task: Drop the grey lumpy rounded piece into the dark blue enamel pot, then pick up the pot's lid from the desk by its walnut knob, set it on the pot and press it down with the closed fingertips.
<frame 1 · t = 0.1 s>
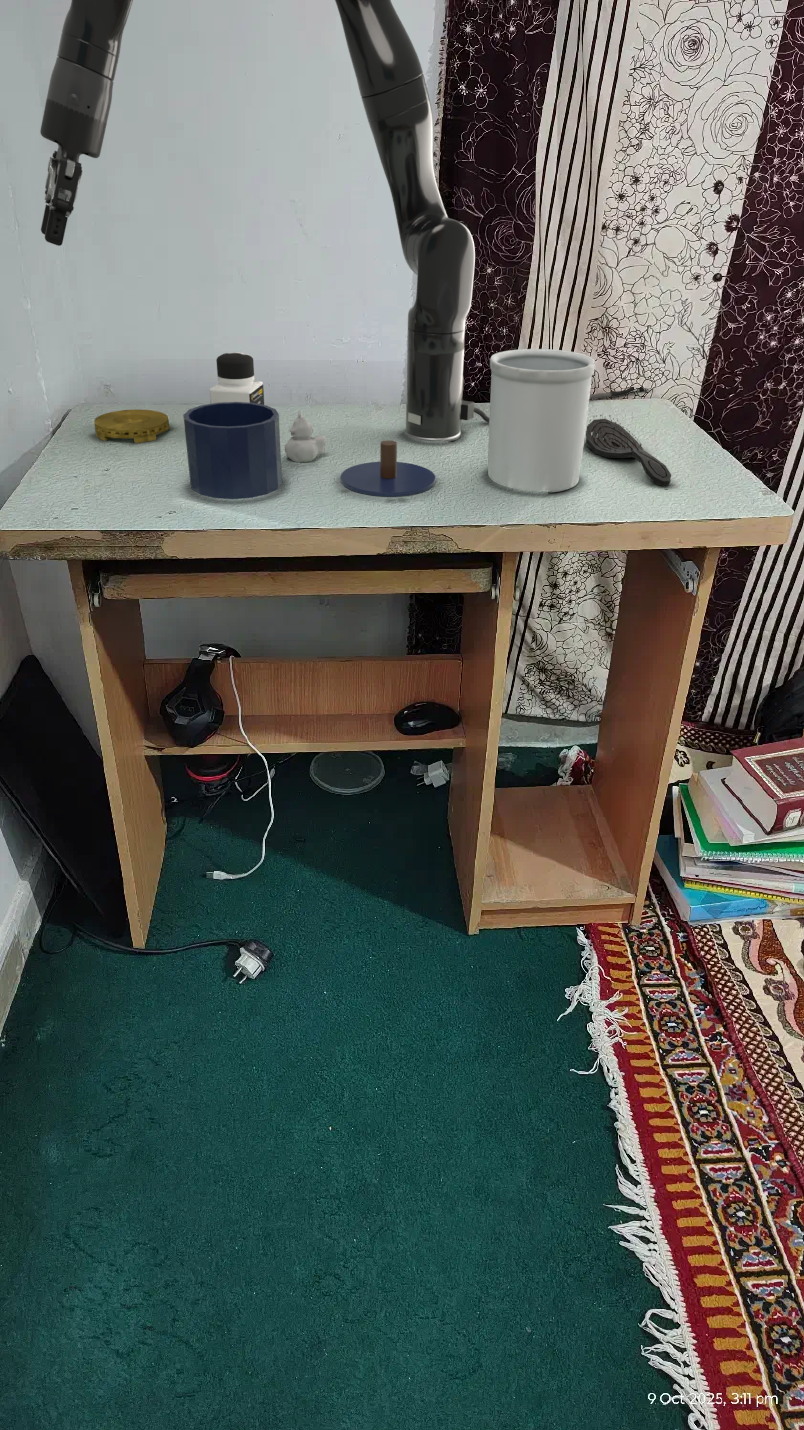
hand: (50, 239, 133), 31 cm above the table, tool tilted 20°, fingers open, 8 cm apart
golden brown disc: (133, 433, 165), on the table
pot: (236, 487, 144), on the table
hairbrush: (629, 461, 157), on the table
lid: (388, 480, 145), point 1 cm above the table
utensil holder: (531, 480, 149), on the table
grey lumpy rounded piece: (306, 463, 154), on the table
medicine bottle: (239, 428, 169), on the table
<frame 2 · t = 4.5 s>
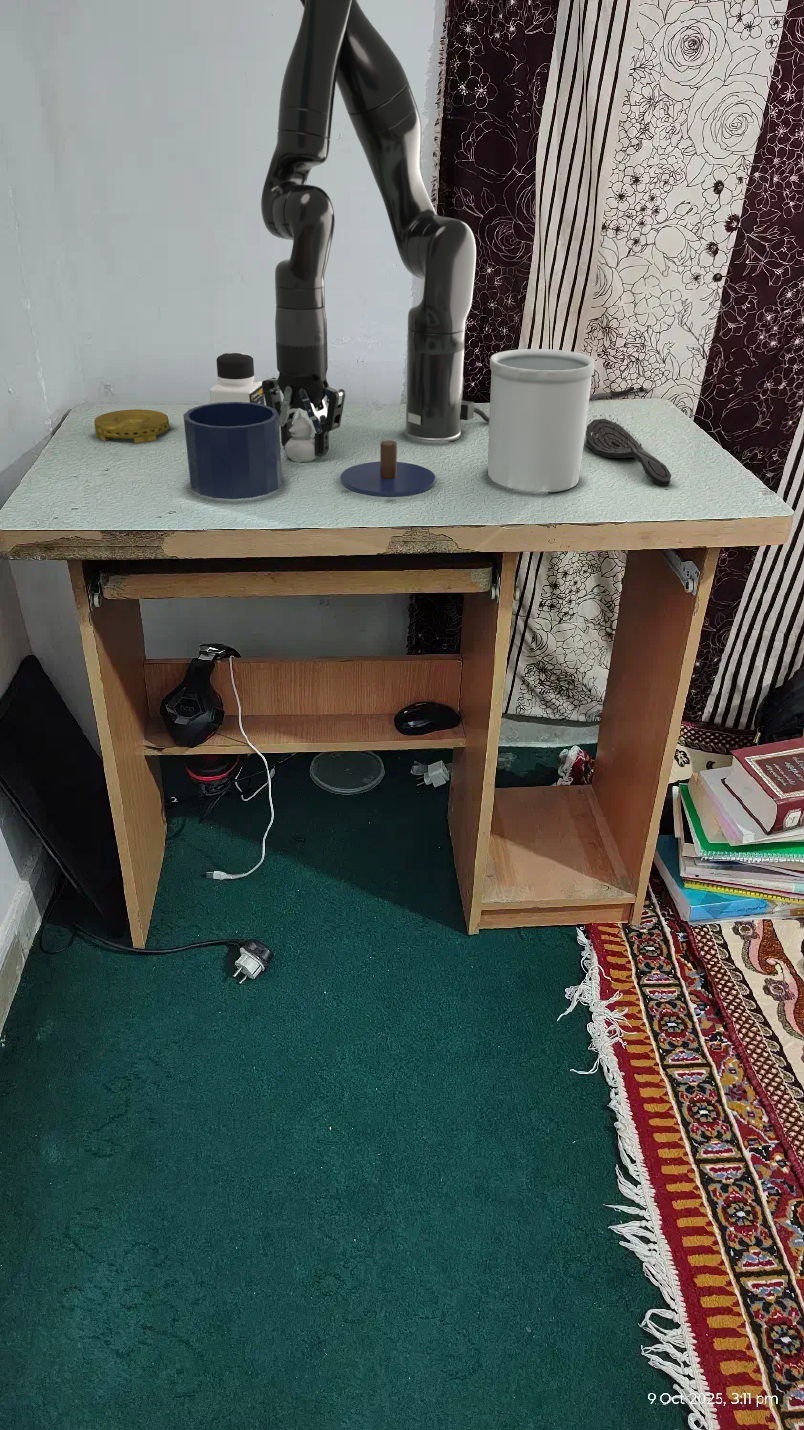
hand: (305, 452, 153), 2 cm above the table, tool pointing down, fingers closed on grey lumpy rounded piece, 5 cm apart
grey lumpy rounded piece: (306, 463, 154), on the table, touching gripper
everything else where it was.
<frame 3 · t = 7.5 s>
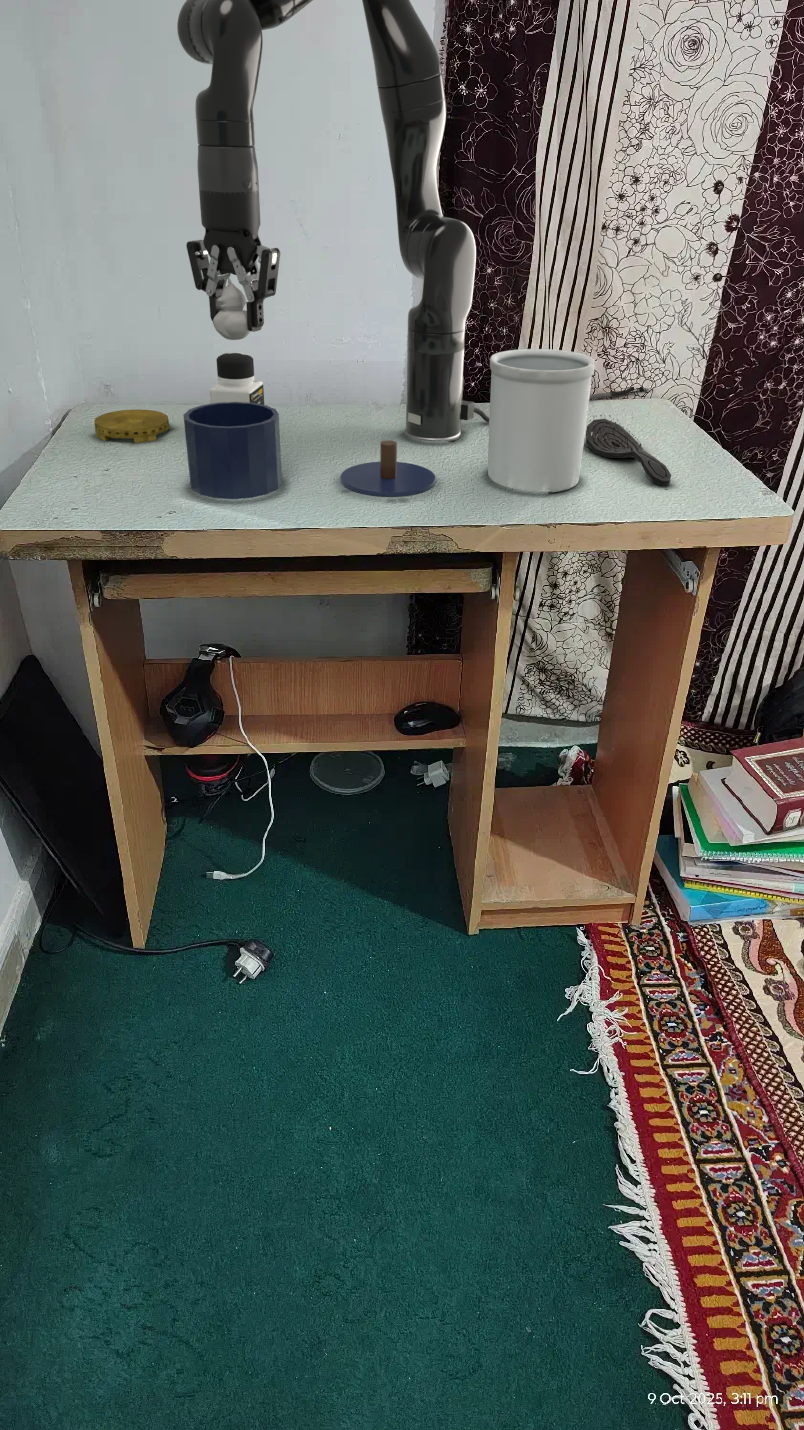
hand: (237, 327, 134), 22 cm above the table, tool pointing down, fingers closed on grey lumpy rounded piece, 5 cm apart
grey lumpy rounded piece: (239, 340, 135), point 20 cm above the table, touching gripper
everything else where it was.
when the fingers open (10 cm above the table, at t = 10.8 s): grey lumpy rounded piece drops 8 cm, resting on pot.
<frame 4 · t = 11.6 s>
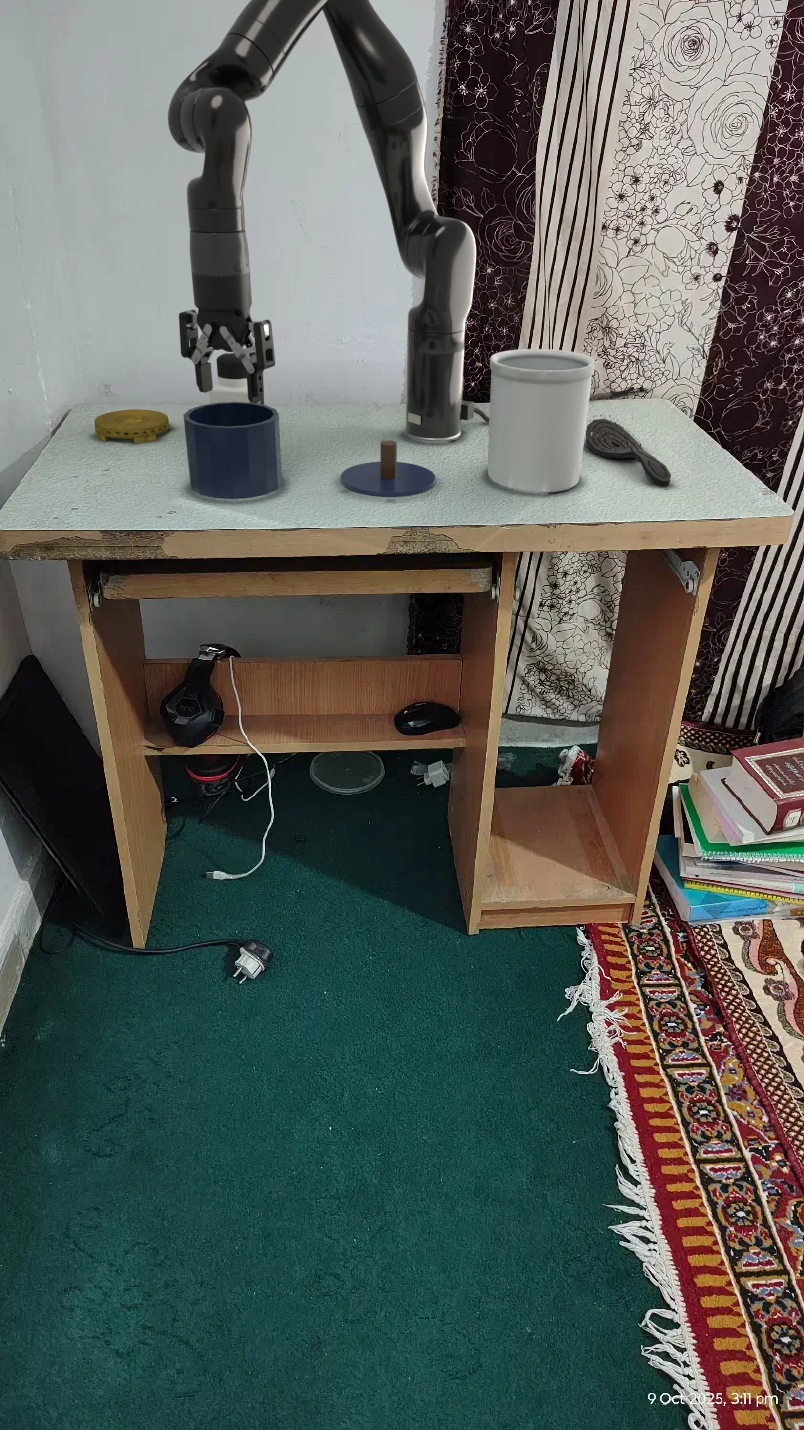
hand: (230, 395, 137), 13 cm above the table, tool pointing down, fingers open, 8 cm apart
grey lumpy rounded piece: (238, 485, 143), resting on pot
everything else where it was.
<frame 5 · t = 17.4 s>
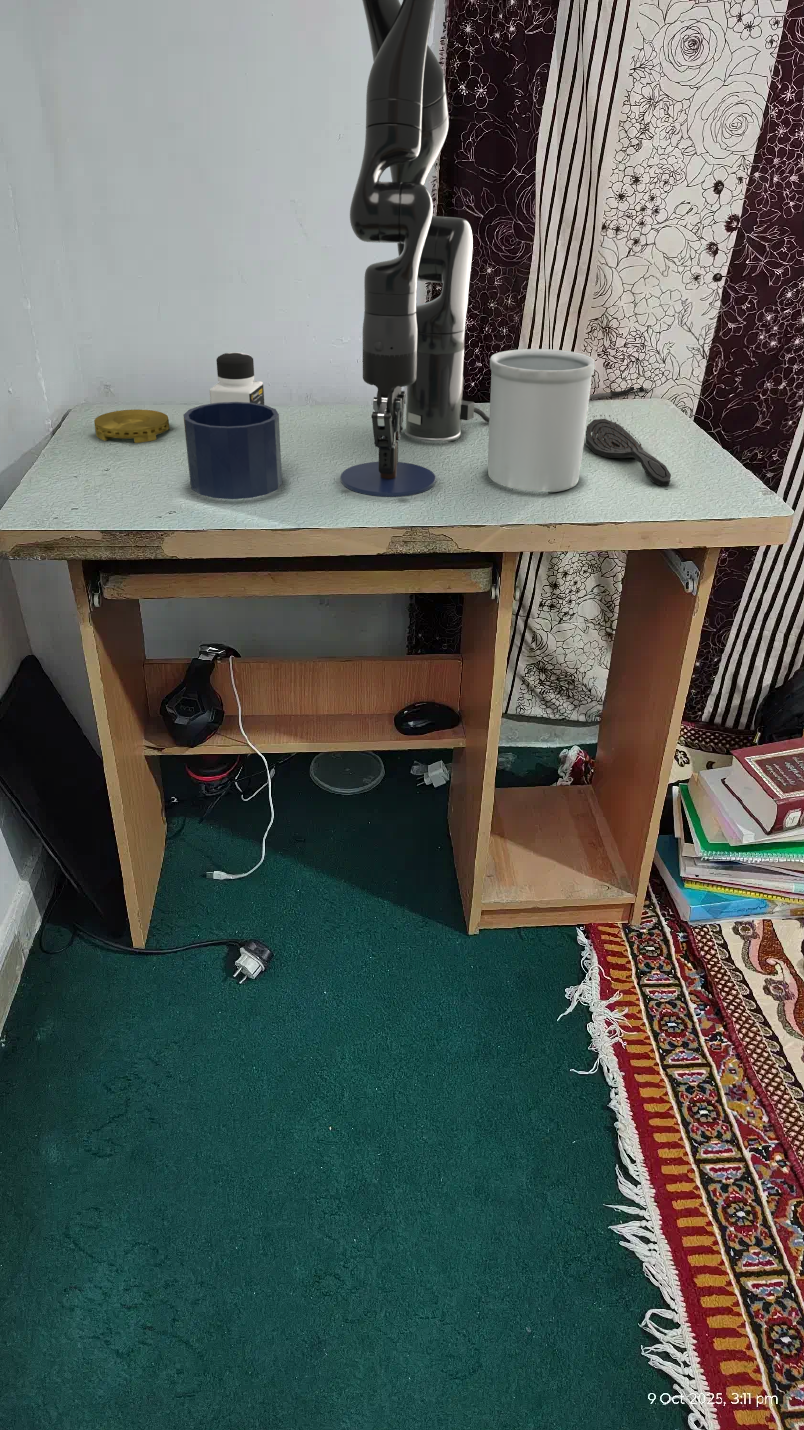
hand: (388, 469, 145), 2 cm above the table, tool pointing down, fingers closed on lid, 2 cm apart
lid: (388, 480, 145), point 1 cm above the table, touching gripper
everything else where it was.
when the fingers open (12 cm above the table, at t = 24.4 s): lid stays where it is, resting on pot.
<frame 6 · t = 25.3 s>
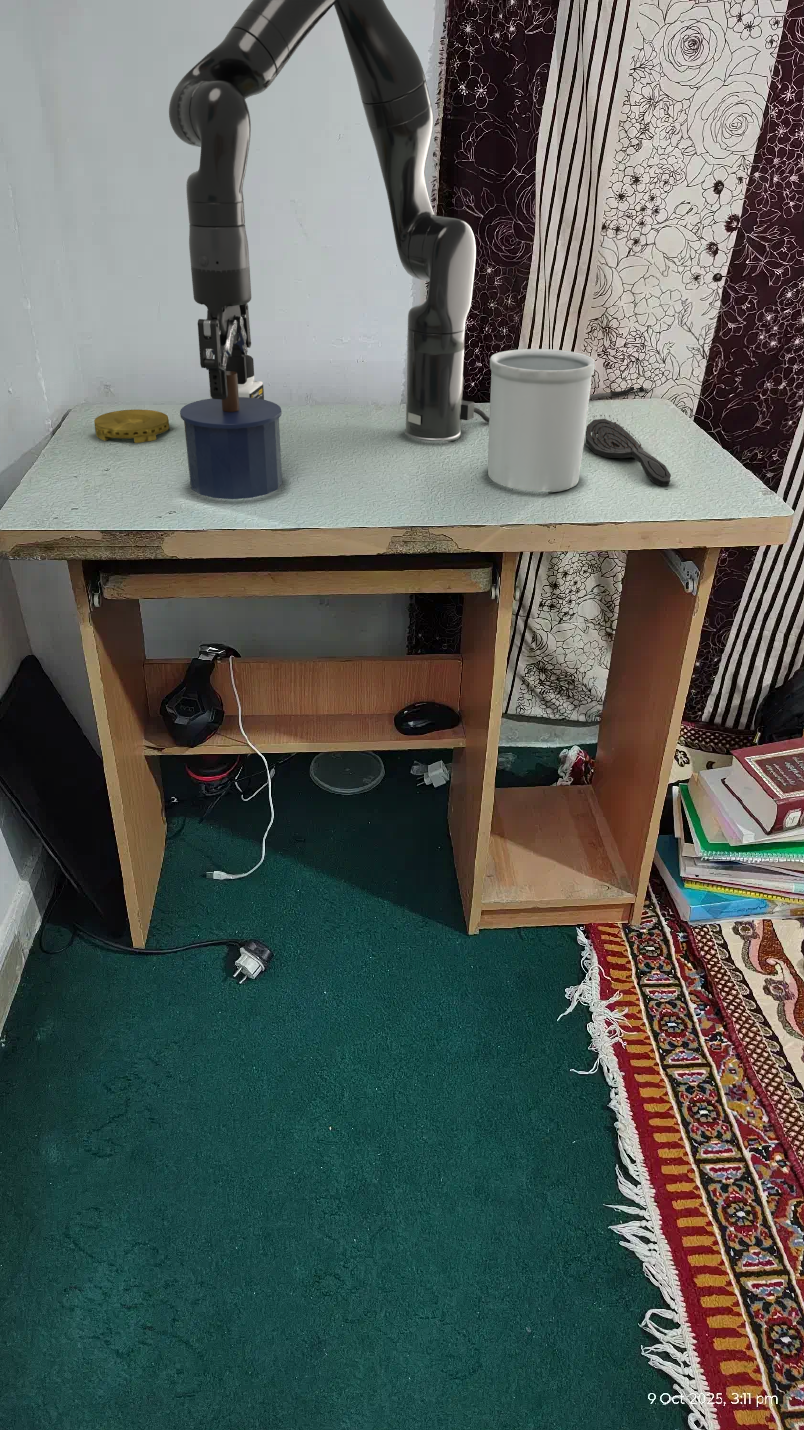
hand: (229, 390, 136), 14 cm above the table, tool pointing down, fingers open, 8 cm apart
lid: (231, 414, 138), point 10 cm above the table, touching pot
everything else where it was.
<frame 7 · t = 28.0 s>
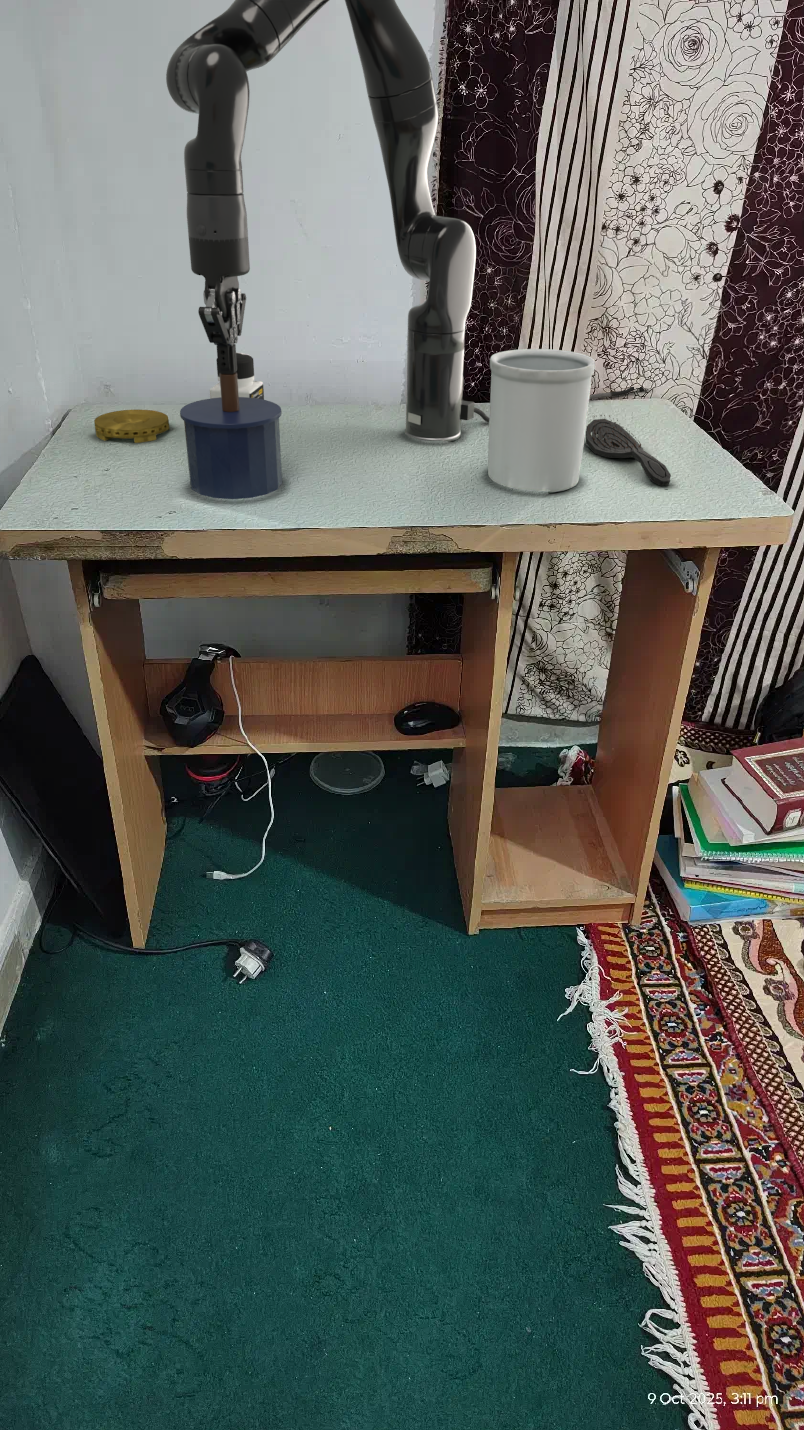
hand: (228, 373, 135), 16 cm above the table, tool pointing down, fingers closed
lid: (231, 414, 138), point 10 cm above the table, touching gripper, pot
everything else where it was.
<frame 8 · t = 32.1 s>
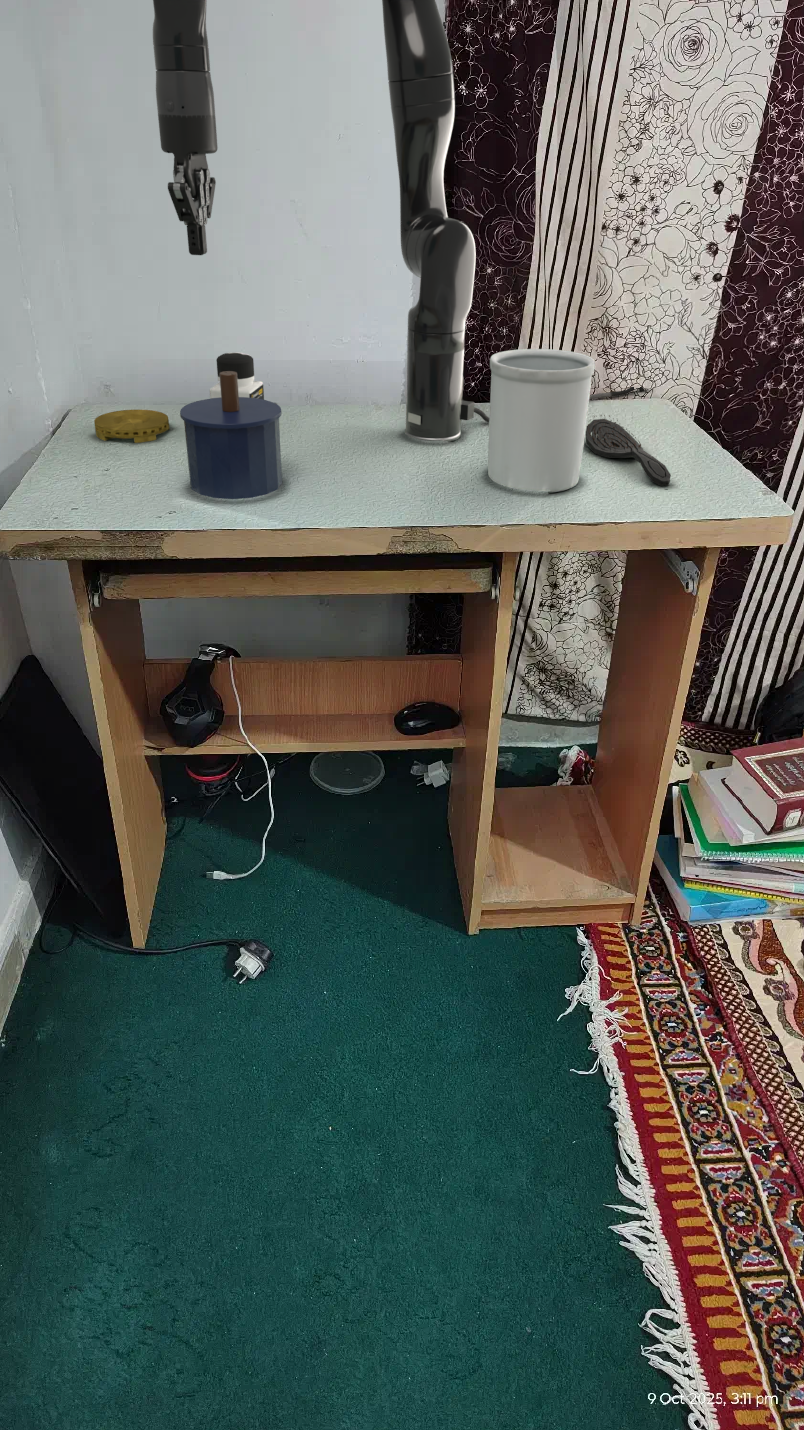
hand: (198, 254, 140), 29 cm above the table, tool pointing down, fingers closed
lid: (231, 414, 138), point 10 cm above the table, touching pot
everything else where it was.
at the end: grey lumpy rounded piece inside the target area in the pot (0.4 cm from its centre), point 0.3 cm above the pot's base; lid 0.0 cm off-centre on the pot, point 10.5 cm above the pot's base; lid tilted 0° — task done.
